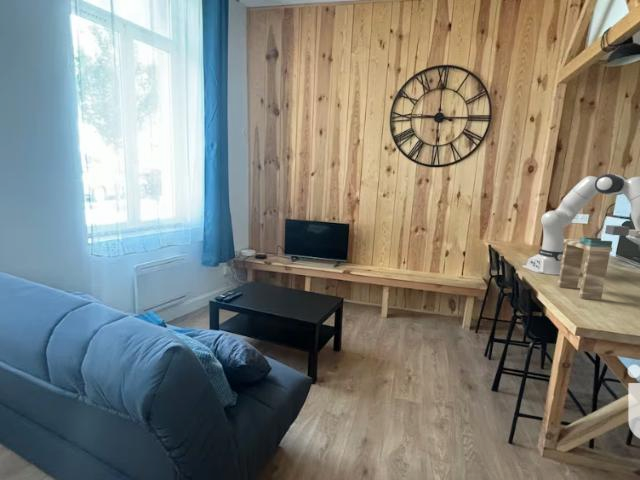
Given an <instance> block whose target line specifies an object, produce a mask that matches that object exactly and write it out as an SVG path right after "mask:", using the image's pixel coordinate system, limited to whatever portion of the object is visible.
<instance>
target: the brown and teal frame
mask: <svg viewBox="0 0 640 480" xmlns="http://www.w3.org/2000/svg"><path fill="white" fill-rule="evenodd" d="M612 246H613V241H612V240H602V238H599V237H597V238H596V237H584V236H583V237H580V238H579V239H573V238H571V239H570V238H567V239H566V238H565V239H564V246H563V256H562V261H561V269H560V275H558V282H557V287H558V288H561V289H562V288H563V289H576V290H577V289H578V286H579V280H580V275H581V269H582V264H583V258H584V252H585V250H586V256H585V262H584V269H583V273H582V278H581V279H582V280H581V284H580V289H579V294H578V299H581V300H593V301H602V297H603V291H604V287H605V280H606V276H607V270H608V265H609V260H610V256H611V252H612V251H613V247H612Z"/></svg>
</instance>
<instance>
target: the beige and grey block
mask: <svg viewBox="0 0 640 480" xmlns="http://www.w3.org/2000/svg"><path fill="white" fill-rule="evenodd" d="M638 231H640V230H633V229H631V227H629V226H623V225H614V224H613V225H609V224H606V226H605V232H604V234H607V235H612V236H624V237H626V236H628V235H629V236H639V235H637V232H638Z"/></svg>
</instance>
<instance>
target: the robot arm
mask: <svg viewBox="0 0 640 480" xmlns="http://www.w3.org/2000/svg"><path fill="white" fill-rule="evenodd" d="M597 194H603V195H606V196H607V195H608V196H620V195H624V196H625V197H626V198H627V200H628V203H629V204H630V208H631V209H630V210H631V212H630V214H628V215H629V220H630V221H629V222H630V224H631V227H632V230H640V176H633V177H629V178H626V176H623V175H620V174H614V173H613V174H612V173H606V174H603V175H602V174H601V176H599V177H597V176H593V175H587V176H586V177H584V178H583V179H581V180H580V181H579V182H577V184H576V185H575V186H574V187H573V188H572V189H571V190H570V191H569V192H568V193H567V194H566V195H565V196H564V197H563V199H562V200H561V202H560V204H559V206H558V207H557V208H556V209H555V210H548V211H546V212H544V214H542V216H541V219H540V222H541V224H542V231H543V234H542V235H543V237H542V245H541V248H539V249H538V248H537V252H538V253H537V254H535V255H534V256H531V257H529V258H528V260H527V263H526V264H523V265H522V268H525V269H527V270H529V271H532V272H535V273H537V274H545V275H546V274H547V275H554V276H555V275H556V276H559V275H560V269H561V263H562V256H563V250H564V244H565V243H564V239H566V238H565V236H564V228H566V227H567V226H569V225H570V224H572V222H573V220H575V218H576V216H578V214H579V212H580V211H581V210H582V209H583V208H584V207H585V206H586V205H587V204H588V203H589V202H590V201H591V200H592V199H593V198H594V197H595V196H596V195H597ZM637 235H639V236H629V235H628V236H625V238H626V239H627V240H630V242H633V243H634V244H636V245H638V251H639V252H640V231H638V232H637Z"/></svg>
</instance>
